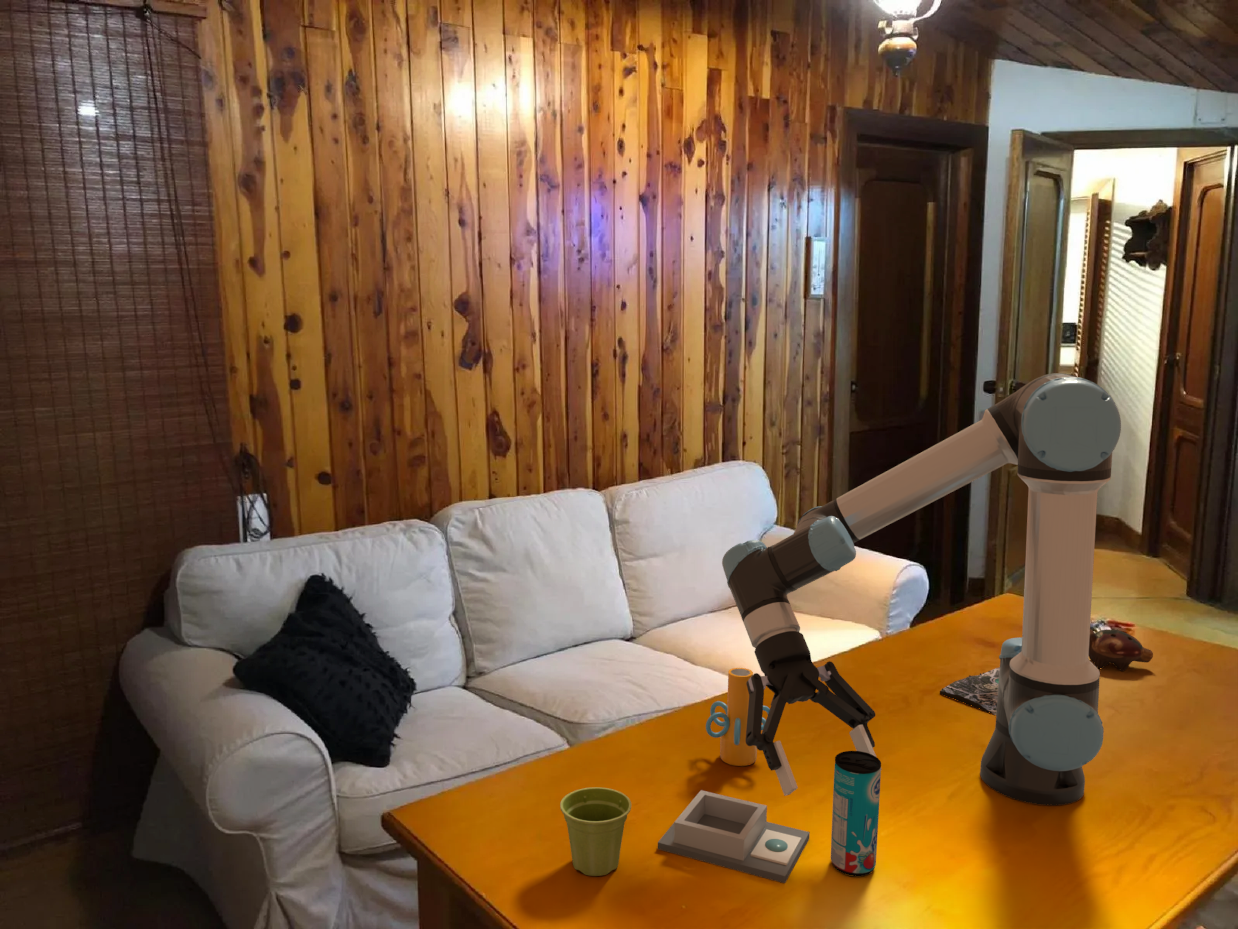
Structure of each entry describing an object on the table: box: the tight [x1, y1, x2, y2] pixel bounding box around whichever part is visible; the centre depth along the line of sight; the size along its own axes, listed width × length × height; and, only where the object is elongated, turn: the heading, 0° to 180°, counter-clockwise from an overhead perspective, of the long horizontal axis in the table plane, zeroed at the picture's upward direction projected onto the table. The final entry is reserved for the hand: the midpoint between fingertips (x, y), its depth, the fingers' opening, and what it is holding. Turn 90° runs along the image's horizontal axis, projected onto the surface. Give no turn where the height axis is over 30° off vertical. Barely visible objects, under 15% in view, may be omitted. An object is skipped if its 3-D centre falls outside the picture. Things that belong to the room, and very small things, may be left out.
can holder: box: [657, 789, 810, 884], centre depth 135 cm, size 18×12×4 cm, turn 64°
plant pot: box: [559, 786, 632, 877], centre depth 129 cm, size 9×9×9 cm
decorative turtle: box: [1088, 628, 1154, 672], centre depth 204 cm, size 10×15×8 cm, turn 82°
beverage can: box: [829, 750, 882, 877], centre depth 129 cm, size 6×6×15 cm
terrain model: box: [939, 666, 1000, 716], centre depth 188 cm, size 20×15×3 cm
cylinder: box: [705, 667, 771, 767], centre depth 160 cm, size 12×10×15 cm
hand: (833, 782), depth 131 cm, fingers open, 13 cm apart
